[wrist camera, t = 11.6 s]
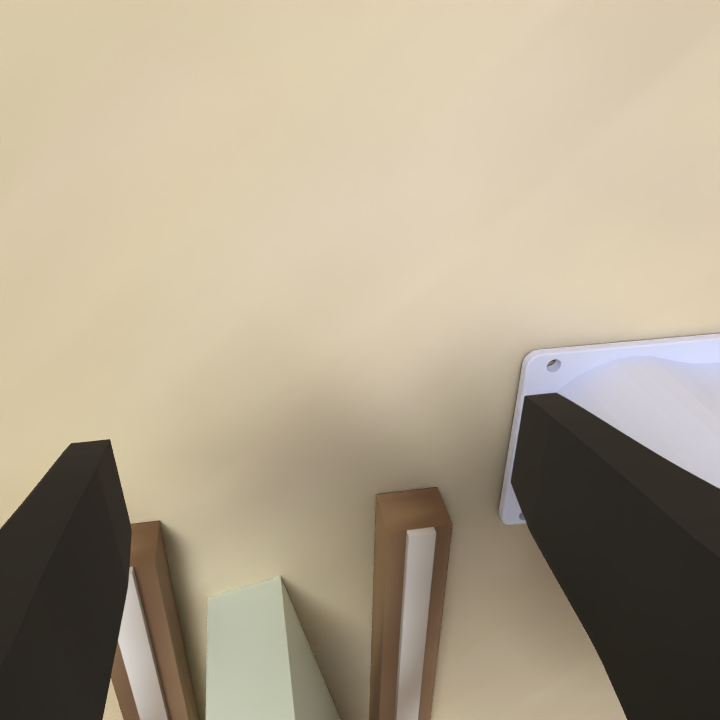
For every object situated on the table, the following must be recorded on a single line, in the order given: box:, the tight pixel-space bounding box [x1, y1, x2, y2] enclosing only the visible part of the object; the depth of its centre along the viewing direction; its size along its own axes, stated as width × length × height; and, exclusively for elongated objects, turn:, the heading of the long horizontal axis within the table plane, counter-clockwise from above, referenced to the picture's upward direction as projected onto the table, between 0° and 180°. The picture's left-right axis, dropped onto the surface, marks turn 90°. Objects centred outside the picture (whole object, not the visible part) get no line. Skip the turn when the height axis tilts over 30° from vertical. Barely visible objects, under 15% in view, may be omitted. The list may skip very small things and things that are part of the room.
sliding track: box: [111, 487, 453, 720], centre depth 29 cm, size 13×20×2 cm, turn 179°
